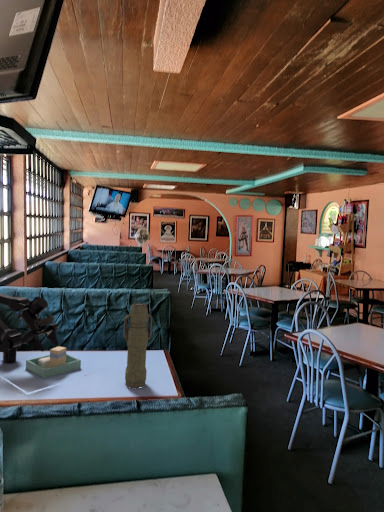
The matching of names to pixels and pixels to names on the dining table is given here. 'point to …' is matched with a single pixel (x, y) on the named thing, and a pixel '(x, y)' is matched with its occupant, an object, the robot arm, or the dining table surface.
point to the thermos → (137, 344)
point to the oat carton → (57, 356)
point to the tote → (70, 365)
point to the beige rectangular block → (44, 362)
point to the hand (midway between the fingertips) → (50, 347)
